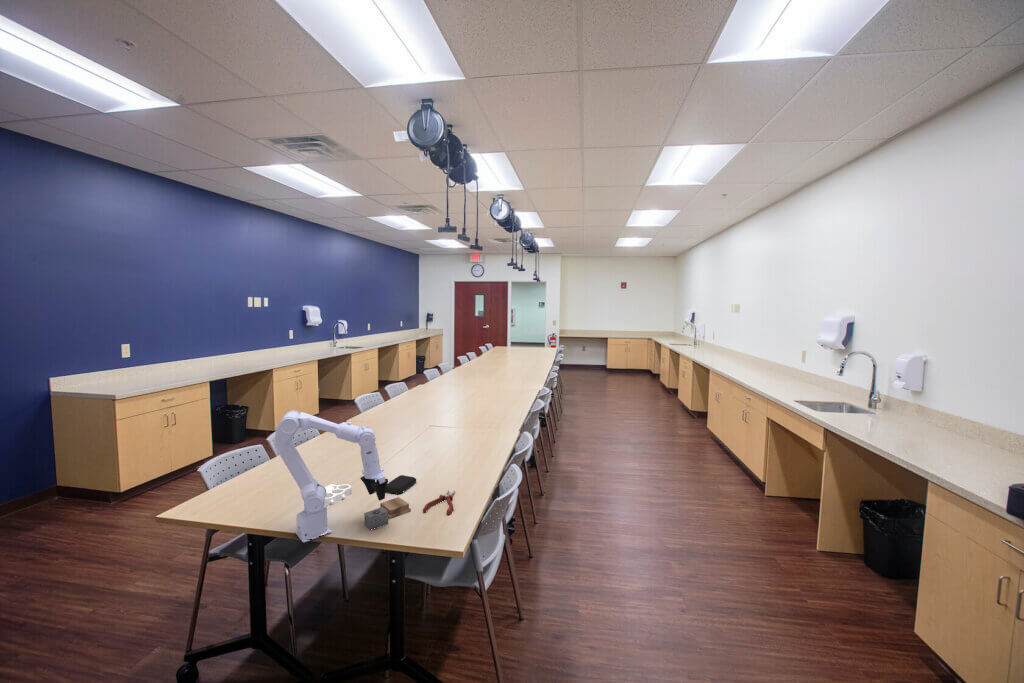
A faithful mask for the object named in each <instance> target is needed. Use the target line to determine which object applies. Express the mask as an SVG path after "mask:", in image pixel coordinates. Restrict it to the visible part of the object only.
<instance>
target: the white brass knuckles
mask: <svg viewBox="0 0 1024 683" xmlns="http://www.w3.org/2000/svg"><path fill="white" fill-rule="evenodd" d="M324 487H325V489H326V496H325V500H324V501H325V503H326V504H327V506H330V504H331V505H335V504H336V503H337V501H338V502H341V501H343V500H344V499H345V498H347V495H348V496H350V495H351V494H352V486H351V484H347V483H344V484H339V485H338V484H337V485H336V484H334V483H331V484H329V485H327V486H324ZM342 499H343V500H342ZM335 502H336V503H335Z"/></svg>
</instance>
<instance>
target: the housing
mask: <svg viewBox="0 0 1024 683" xmlns="http://www.w3.org/2000/svg"><path fill="white" fill-rule="evenodd" d="M363 514H364V520H363V521H364V527H365V526H366V527H367V528H368V529H367V528H366V527H365V528H366V529H367V530H368V531H372V530H371V529H373V530H375V529H374V528H376V529H378V528H381V527H383V525H384V526H386V525H388V524H389V518H388V511H387V510H386V509H385V508H383V507H380V506H379V507H378V508H375V509H372V510H369V511H366V512H363ZM385 524H386V525H385ZM380 526H381V527H380ZM377 527H378V528H377Z"/></svg>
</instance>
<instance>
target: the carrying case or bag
mask: <svg viewBox="0 0 1024 683" xmlns="http://www.w3.org/2000/svg"><path fill="white" fill-rule="evenodd" d="M416 482H417V478H415V477H414V476H408V475H403V474H402V475H401V474H400V475H399V476H397V477H395V478H394V479H392V480H391V481H388V483H387V486H386V491H385V493H388V494H393V493H394V495H401V494H403V493H404V492H405V491H407V490H408V489H409V488H410V486H411V487H412V486H413V485H415V484H416ZM414 483H415V484H414ZM406 489H407V490H406ZM403 491H404V492H403Z"/></svg>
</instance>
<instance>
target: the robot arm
mask: <svg viewBox="0 0 1024 683" xmlns="http://www.w3.org/2000/svg"><path fill="white" fill-rule="evenodd" d="M309 429H314V430H317V431H318V430H319V431H323V432H327V433H331V434H335V436H336V438H337V439H340V440H342V441H343V440H344V441H346V442H351V443H354V444H358V446H359V447H360V457H361V458H360V459H361V461H362V462H361V463H362V469H361V472H362V473H361V474H362V475H363V476H361V477H360V480H361V482H362V483H363V484H364V485H365V488H366V490H367V492H368V495H370V496H371V495H373V494H376V497H377V499H378V501H379V502H381V501H383V500H384V499H385V498H386V492H385V491H386V486H387V484H388V483H389V479H388V478H386V477H385V475H384V473H383V472H384V471H385V469H384V468H382V467H381V464H380V458H379V453H378V447H377V443H376V434H375V431H374V430H373V428H371V427H369V426H358V425H355V424H352V422H351V421H346V422H343V421H342V422H341V423H336V422H332V421H330V420H327V419H324V418H321V417H319V416H315V415H312V414H310V413H306V412H303V411H301V412H300V411H299V410H295V409H294V410H289V411H287V412H285V414H284V415H283V417H282V418H281V419H280V421H279V422H278V424H277V425H276V427H275V435H274V443H273V445H274V448H275V449H276V452H278V455H279V456H280V458H281V459H282V461H283V463H284V465H285V466H286V468H287V470H288V471H289V473H290V474H291V476H292V478H293V479H294V481H295V483H296V485H297V486H298V488H299V490H300V494H301V498H302V500H303V507H304V508H303V510H302V511H300V512H298V513H297V514H296V518H295V519H296V521H295V522H296V532H295V534H296V535H297V537H298V538H299V540H301V543H307V542H309V541H313V540H315V539H318V538H320V537H319V536H321V534H323V533H325V532H326V531H327V533H329V534H331V533H330V532H332V530H331V529H330V528H329V527H328V505H327V504H326V503H325V501H324V500H325V496H326V489H325V487H326V486H323V485H322V484H320V483H319V481H318V480H317V479H315V478H314V476H313V475H312V473H311V471H310V469H309V467H308V466H307V464H306V463H305V460H304V459H303V458H302V456H301V454H300V453H299V451H298V449H297V447H296V445H295V444H294V442H293V439H294V437H295V435H296V434H297V432H298V431H299V430H300V432H304V431H307V430H309ZM332 533H333V532H332ZM321 537H322V536H321ZM307 539H312V540H307Z"/></svg>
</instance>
